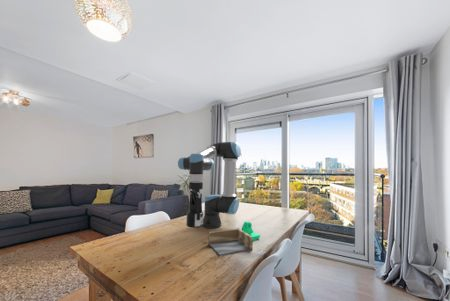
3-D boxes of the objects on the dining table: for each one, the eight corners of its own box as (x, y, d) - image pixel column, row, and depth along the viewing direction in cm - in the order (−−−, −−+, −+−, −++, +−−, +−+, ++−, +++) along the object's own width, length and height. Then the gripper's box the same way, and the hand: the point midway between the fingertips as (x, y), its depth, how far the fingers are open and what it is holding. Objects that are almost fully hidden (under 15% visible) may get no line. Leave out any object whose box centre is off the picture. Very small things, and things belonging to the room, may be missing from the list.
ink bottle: (199, 228, 103) (200, 205, 103) (183, 227, 104) (184, 204, 105) (205, 223, 112) (205, 201, 113) (190, 222, 114) (190, 200, 114)
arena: (208, 244, 117) (209, 232, 117) (238, 239, 125) (238, 228, 126) (219, 255, 102) (219, 241, 103) (252, 249, 111) (252, 236, 111)
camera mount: (247, 243, 121) (247, 225, 122) (238, 239, 127) (239, 222, 128) (260, 239, 128) (260, 222, 129) (251, 235, 134) (252, 220, 135)
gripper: (184, 180, 118) (183, 218, 116) (195, 184, 98) (193, 230, 97) (196, 179, 121) (195, 217, 120) (209, 183, 101) (208, 228, 100)
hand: (194, 223), depth 108 cm, fingers closed on ink bottle, 9 cm apart
